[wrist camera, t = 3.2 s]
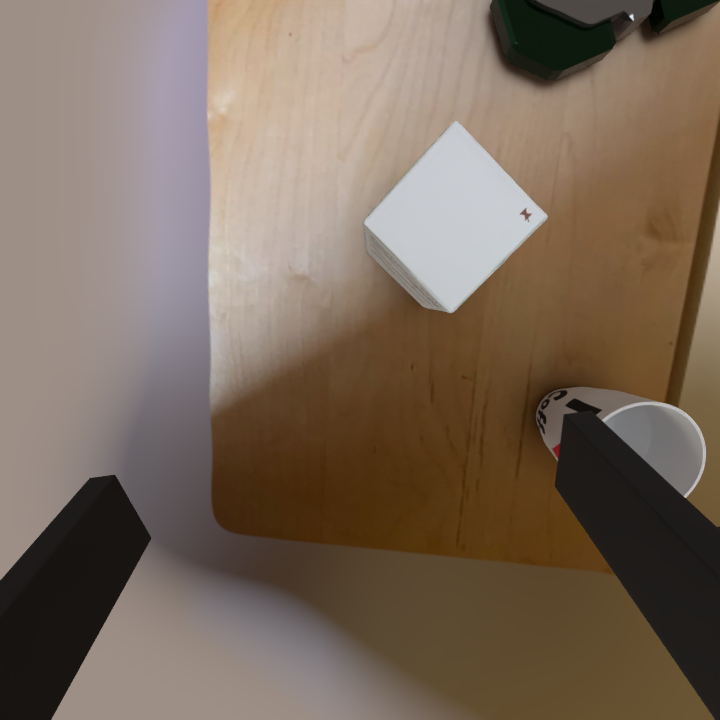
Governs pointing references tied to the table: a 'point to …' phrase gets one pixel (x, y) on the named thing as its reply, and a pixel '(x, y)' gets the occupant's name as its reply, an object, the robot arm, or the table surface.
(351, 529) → the table surface
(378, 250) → the white packaging box
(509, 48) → the four-lobed dark green device
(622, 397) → the cup
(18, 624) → the robot arm
